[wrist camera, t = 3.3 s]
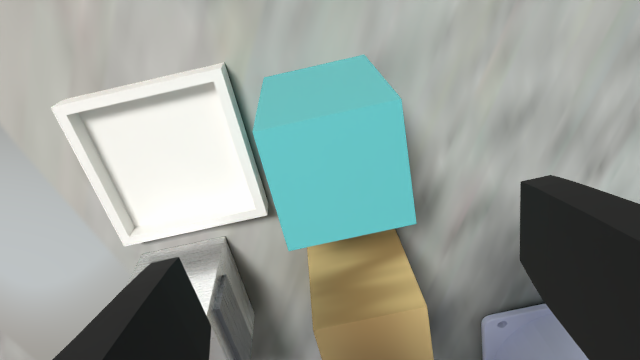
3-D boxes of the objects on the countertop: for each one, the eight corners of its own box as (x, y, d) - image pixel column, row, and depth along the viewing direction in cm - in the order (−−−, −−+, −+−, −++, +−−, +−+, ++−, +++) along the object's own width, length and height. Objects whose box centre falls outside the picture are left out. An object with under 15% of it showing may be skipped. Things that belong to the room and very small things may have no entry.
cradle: (224, 62, 16) (220, 68, 15) (268, 203, 19) (267, 215, 18) (63, 99, 16) (50, 107, 15) (131, 233, 19) (124, 246, 18)
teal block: (364, 54, 16) (401, 99, 11) (378, 147, 18) (416, 223, 13) (263, 77, 16) (252, 131, 11) (288, 167, 18) (288, 251, 13)
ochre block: (389, 214, 20) (427, 306, 14) (399, 279, 22) (436, 382, 16) (306, 232, 20) (313, 330, 15) (323, 295, 22) (335, 402, 16)
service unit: (229, 235, 20) (211, 314, 15) (258, 312, 22) (250, 401, 17) (136, 255, 20) (92, 340, 15) (174, 329, 22) (146, 422, 18)
